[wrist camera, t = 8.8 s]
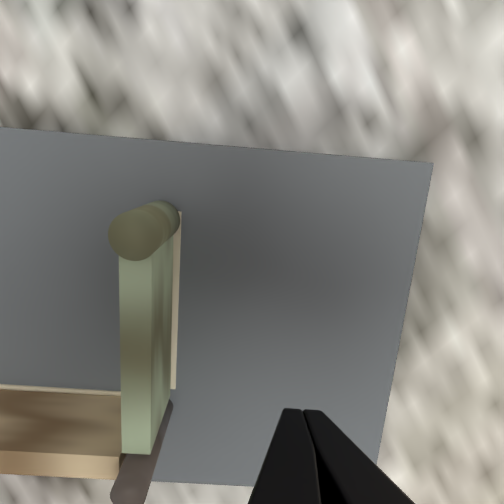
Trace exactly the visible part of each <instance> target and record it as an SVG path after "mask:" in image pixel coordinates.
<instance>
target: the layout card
mask: <svg viewBox="0 0 504 504" xmlns="http://www.w3.org/2000/svg"><path fill="white" fill-rule="evenodd" d="M433 165H434V163H427V162H415V161H403V160H391V159H379V158H367V157H355V156H343V155H331V154H319V153H307V152H295V151H283V150H271V149H259V148H247V147H235V146H223V145H211V144H199V143H187V142H175V141H163V140H151V139H139V138H127V137H115V136H103V135H91V134H79V133H67V132H54V131H42V130H30V129H18V128H6V127H0V390H15V391H31V392H48V393H64V394H81V395H97V396H114V397H121V370H120V306H119V255H118V254H117V253H115V251H114V250H113V249H112V247H111V245H110V243H109V239H108V229H109V226H110V224H111V222H112V221H113V219H114V218H115V217H117V216H118V215H120V214H122V213H124V212H127V211H129V210H132V209H135V208H138V207H140V206H143V205H146V204H148V203H151V202H154V201H166V202H169V203H170V204H172V205H173V206H174V207H175V208H176V209H177V211H178V213H179V216H180V225H179V228H178V230H177V231H176V233H175V234H174V235H173V283H172V331H171V379H170V398H169V399H170V400H171V401H172V403H173V411H172V414H171V417H170V420H169V424H168V427H167V430H166V434H165V437H164V440H163V443H162V447H161V450H160V453H159V456H158V460H157V463H156V466H155V470H154V473H153V476H152V479H151V481H159V482H178V483H196V484H215V485H234V486H253V487H254V486H255V483H256V480H257V478H258V475H259V472H260V470H261V467H262V464H263V461H264V459H265V456H266V453H267V451H268V448H269V445H270V443H271V440H272V437H273V435H274V432H275V429H276V426H277V424H278V421H279V418H280V416H281V413H282V410H283V409H284V408H295V409H301V410H302V411H303V410H304V409H312V410H321V411H322V412H324V413H325V414H326V415H327V416H328V417H329V418H330V419H331V420H332V421H333V422H334V423H335V424H336V425H337V426H338V427H339V428H340V429H341V430H342V431H343V432H344V433H345V434H346V435H347V436H348V437H349V438H350V439H351V440H352V441H353V442H354V443H355V444H356V445H357V446H358V447H359V448H360V449H361V450H362V451H363V452H364V453H365V454H366V455H367V456H368V457H369V458H370V459H371V460H372V461H373V462H374V463H375V464H377V458H378V453H379V448H380V443H381V437H382V432H383V427H384V422H385V416H386V411H387V406H388V401H389V395H390V390H391V385H392V380H393V374H394V369H395V364H396V359H397V353H398V348H399V343H400V338H401V332H402V327H403V322H404V317H405V311H406V306H407V301H408V296H409V290H410V285H411V280H412V275H413V270H414V264H415V259H416V254H417V249H418V243H419V238H420V233H421V228H422V222H423V217H424V212H425V207H426V201H427V196H428V191H429V186H430V180H431V175H432V170H433Z"/></svg>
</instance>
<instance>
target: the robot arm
mask: <svg viewBox="0 0 504 504" xmlns="http://www.w3.org/2000/svg"><path fill="white" fill-rule="evenodd" d="M248 504H415V503H414V502H413V501H412V500H411V499H410V498H409V497H408V496H407V495H406V494H405V493H404V492H403V491H402V490H401V489H400V488H399V487H398V486H397V485H396V484H395V483H394V482H393V481H392V480H391V479H390V478H389V477H388V476H387V475H386V474H385V473H384V472H383V471H382V470H381V469H380V468H379V467H378V466H377V465H376V464H375V463H374V462H373V461H372V460H371V459H370V458H369V457H368V456H367V455H366V454H365V453H364V452H363V451H362V450H361V449H360V448H359V447H358V446H357V445H356V444H355V443H354V442H353V441H352V440H351V439H350V438H349V437H348V436H347V435H346V434H345V433H344V432H343V431H342V430H341V429H340V428H339V427H338V426H337V425H336V424H335V423H334V422H333V421H332V420H331V419H330V418H329V417H328V416H327V415H326V414H325V413H324V412H322V411H321V410H312V409H304V410H303V411H302V410H301V409H295V408H284V409H283V410H282V413H281V416H280V418H279V421H278V424H277V426H276V429H275V432H274V435H273V437H272V440H271V443H270V445H269V448H268V451H267V453H266V456H265V459H264V461H263V464H262V467H261V470H260V472H259V475H258V478H257V480H256V483H255V486H254V488H253V491H252V494H251V496H250V499H249V502H248Z"/></svg>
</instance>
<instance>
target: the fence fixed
mask: <svg viewBox="0 0 504 504" xmlns="http://www.w3.org/2000/svg"><path fill="white" fill-rule="evenodd" d="M172 411H173V403H172V401H171V400H170V399H169V401H168V404H167V407H166V410H165V413H164V415H163V418H162V421H161V424H160V427H159V430H158V433H157V436H156V439H155V442H154V445H153V448H152V451H151V454H150V455H149V454H129V453H122V435H121V397H114V396H97V395H81V394H64V393H48V392H31V391H15V390H0V474H16V475H35V476H54V477H72V478H91V479H110V480H115V483H114V485H113V488H112V490H111V493H110V498H111V501H112V503H113V504H144V502H145V499H146V496H147V492H148V489H149V486H150V483H151V479H152V476H153V473H154V470H155V466H156V463H157V460H158V456H159V453H160V450H161V447H162V443H163V440H164V437H165V434H166V430H167V427H168V424H169V420H170V417H171V414H172Z"/></svg>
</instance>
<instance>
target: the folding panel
mask: <svg viewBox="0 0 504 504" xmlns="http://www.w3.org/2000/svg"><path fill="white" fill-rule="evenodd" d="M179 225H180V216H179V213H178V211H177V209H176V208H175V207H174V206H173V205H172V204H170V203H169V202H166V201H154V202H151V203H148V204H146V205H143V206H140V207H138V208H135V209H132V210H129V211H127V212H124V213H122V214H120V215H118V216H117V217H115V218H114V219H113V221H112V222H111V224H110V226H109V229H108V239H109V243H110V245H111V247H112V249H113V250H114V251H115V253H117V254H118V255H119V306H120V370H121V435H122V453H129V454H149V455H150V454H151V451H152V448H153V445H154V442H155V439H156V436H157V433H158V430H159V427H160V424H161V421H162V418H163V415H164V413H165V410H166V407H167V404H168V401H169V398H170V379H171V331H172V283H173V235H174V234H175V233H176V231H177V230H178V228H179Z"/></svg>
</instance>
